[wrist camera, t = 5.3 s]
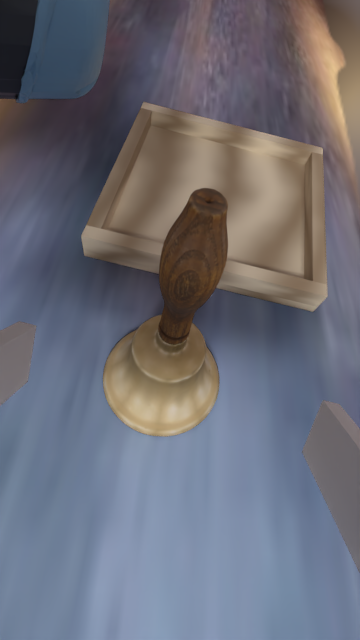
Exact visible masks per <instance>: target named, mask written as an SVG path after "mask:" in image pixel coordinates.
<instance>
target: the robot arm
mask: <svg viewBox="0 0 360 640" xmlns="http://www.w3.org/2000/svg"><path fill="white" fill-rule="evenodd" d="M109 2H110V0H0V98H2V99H16V102H17V103H26V102H27V101H28V99H74V98H79V97H81V96H84V95H85V94H87V93H88V92H89V91H90V90H91V89H92V88H93V86H94V85H95V83H96V81H97V79H98V77H99V74H100V70H101V66H102V62H103V56H104V50H105V42H106V33H107V24H108V14H109ZM35 331H36V326H35V325H31V324H27V323H24V322H20V321H19V322H17V323H15V324H13V325H11V326H9V327H7V328H5V329H3V330H1V331H0V406H1V405H2V404H3V403H4V402H5V401H6V400H7V399H9V398H10V397H11V396H12V395H13V394H14V393H15V392H16V391H18V390H19V389H20V388H21V387H22V386H23V385H24V384H26V383H27V382H28V377H29V370H30V364H31V357H32V351H33V344H34V338H35ZM302 453H303V455H304V457H305V459H306V461H307V463H308V465H309V468H310V470H311V472H312V474H313V476H314V478H315V480H316V482H317V484H318V486H319V489H320V491H321V493H322V495H323V497H324V499H325V501H326V503H327V505H328V508H329V510H330V512H331V514H332V516H333V518H334V520H335V522H336V524H337V526H338V529H339V531H340V533H341V535H342V537H343V539H344V541H345V543H346V545H347V547H348V550H349V552H350V554H351V556H352V558H353V560H354V562H355V564H356V566H357V569H358V571H359V573H360V429H359V427H358V426H357V425H356V424H355V423H354V421H353V420H352V419H351V418H350V417H349V415H348V414H347V413H346V412H345V410H344V409H343V408H342V407H341V406H340V404H336V403H332V402H329V401H325V400H323V401H322V404H321V406H320V408H319V411H318V413H317V416H316V418H315V421H314V423H313V426H312V428H311V431H310V433H309V436H308V438H307V441H306V443H305V446H304V448H303V451H302Z"/></svg>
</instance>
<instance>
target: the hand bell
mask: <svg viewBox="0 0 360 640" xmlns="http://www.w3.org/2000/svg"><path fill="white" fill-rule="evenodd" d="M227 209H228V202H227V199H226V198H225V197H224V196H223V195H222V194H221V193H220V192H218V191H216V190H215V189H211V188H201V189H197V190H195V191H194V192H193V193H192V194H191V195H190V197H189V200H188V202H187V204H186V206H185V207H184V209H183V211H182V212H181V214H180V215H179V217H178V218H177V219H176V221H175V222H174V224H173V225H172V227H171V228H170V230H169V232H168V234H167V236H166V239H165V241H164V244H163V248H162V252H161V257H160V264H159V283H160V289H161V293H162V296H163V299H164V303H165V304H164V309H163V313H162V315H158V316H155V317H152V318H150V319H149V320H147V321H145V322H144V323H143V324H142V325H141V326H140V327H139V328H138V329H137V330H135V331H133V332H131V333H129V334H128V335H126V336H125V337H124V338H122V339H121V340H120V341H119V342H118V343H117V344H116V345H115V347H114V348H113V349H112V351H111V353H110V354H109V356H108V358H107V361H106V364H105V368H104V373H103V387H104V392H105V396H106V399H107V401H108V403H109V406H110V407H111V409H112V410H113V412H114V413H115V414H116V416H117V417H118V418H119V419H120V420H121V421H122V422H123V423H125V424H126V425H127V426H129V427H130V428H132V429H134V430H136V431H138V432H140V433H143V434H147V435H152V436H173V435H178V434H180V433H184V432H186V431H188V430H190V429H192V428H194V427H195V426H197V425H198V424H199V423H200V422H201V421H203V420H204V419H205V418H206V417H207V415H208V414H209V413H210V411H211V409H212V408H213V406H214V404H215V401H216V399H217V395H218V391H219V373H218V368H217V365H216V362H215V360H214V358H213V356H212V354H211V352H210V351H209V349H208V348H207V347H206V344H205V340H204V338H203V335H202V333H201V332H200V330H199V329H198V328H197V327H196V326H195V325H194V324H193V323H192V320H193V317H194V313H195V312H196V310H197V309H198V308H200V307H201V306H202V305H203V304H204V303H205V302H206V301H207V300H208V299H209V298H210V296H211V295H212V293H213V292H214V290H215V289H216V287H217V285H218V283H219V281H220V279H221V276H222V274H223V271H224V268H225V265H226V261H227V253H228V234H227V223H226V222H227Z"/></svg>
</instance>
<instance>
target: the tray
mask: <svg viewBox="0 0 360 640" xmlns="http://www.w3.org/2000/svg"><path fill="white" fill-rule="evenodd" d="M201 188H211V189H215V190H216V191H218V192H220V193H221V194H222V195H223V196H224V197H225V198H226V199H227V202H228V209H227V222H226V223H227V234H228V253H227V261H226V265H225V268H224V271H223V274H222V276H221V279H220V281H219V283H218V285H217V287H216V288H218V289H222V290H226V291H230V292H234V293H238V294H242V295H246V296H250V297H255V298H259V299H263V300H267V301H271V302H275V303H279V304H283V305H287V306H291V307H295V308H300V309H304V310H308V311H312V312H313V311H314V310H315V309H316V308H317V307H318V306H319V305H320V304H321V303H322V302H323V301H324V300H325V299H326V298H327V269H326V238H325V207H324V176H323V148H321V147H317V146H313V145H309V144H305V143H301V142H297V141H293V140H290V139H286V138H282V137H278V136H274V135H270V134H266V133H262V132H259V131H255V130H251V129H247V128H243V127H239V126H235V125H231V124H227V123H224V122H220V121H216V120H212V119H208V118H204V117H200V116H196V115H193V114H189V113H185V112H181V111H177V110H173V109H169V108H165V107H162V106H158V105H154V104H150V103H146V102H143V104H142V106H141V108H140V111H139V113H138V115H137V117H136V119H135V121H134V124H133V126H132V128H131V130H130V132H129V134H128V136H127V139H126V141H125V143H124V145H123V147H122V149H121V151H120V154H119V156H118V158H117V160H116V162H115V164H114V166H113V169H112V171H111V173H110V175H109V177H108V179H107V181H106V184H105V186H104V188H103V190H102V192H101V194H100V197H99V199H98V201H97V203H96V205H95V207H94V209H93V212H92V214H91V216H90V218H89V220H88V222H87V224H86V227H85V229H84V231H83V233H82V235H81V238H82V245H83V251H84V256H87V257H91V258H95V259H99V260H103V261H108V262H112V263H116V264H120V265H124V266H128V267H132V268H136V269H140V270H144V271H148V272H152V273H157V274H159V264H160V257H161V252H162V248H163V244H164V241H165V239H166V236H167V234H168V232H169V230H170V228H171V227H172V225H173V224H174V222H175V221H176V219H177V218H178V217H179V215H180V214H181V212H182V211H183V209H184V207H185V206H186V204H187V202H188V200H189V197H190V195H191V194H192V193H193V192H194V191H195V190H197V189H201Z"/></svg>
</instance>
